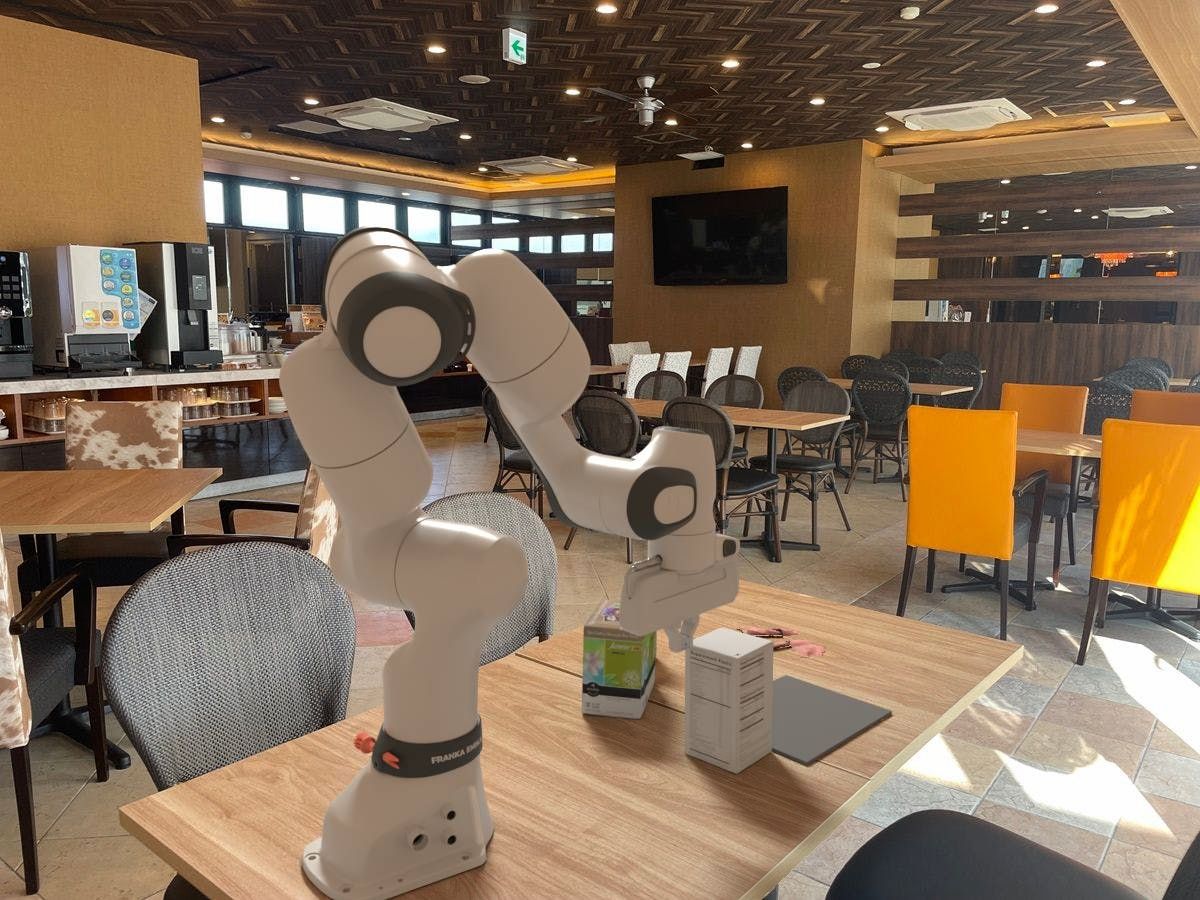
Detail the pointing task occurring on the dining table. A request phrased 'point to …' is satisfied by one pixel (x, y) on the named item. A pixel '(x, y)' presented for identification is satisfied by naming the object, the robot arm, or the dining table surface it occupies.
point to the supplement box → (729, 699)
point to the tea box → (615, 665)
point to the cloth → (802, 650)
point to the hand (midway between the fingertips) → (680, 649)
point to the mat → (816, 719)
